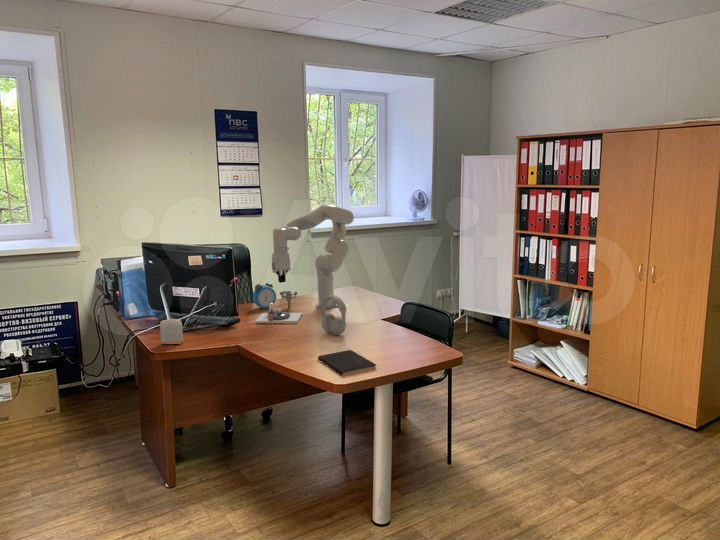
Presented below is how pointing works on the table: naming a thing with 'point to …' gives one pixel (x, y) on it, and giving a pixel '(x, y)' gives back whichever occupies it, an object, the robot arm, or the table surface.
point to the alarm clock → (264, 295)
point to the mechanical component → (288, 296)
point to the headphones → (329, 320)
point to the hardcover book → (347, 362)
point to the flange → (277, 313)
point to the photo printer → (171, 330)
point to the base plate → (292, 319)
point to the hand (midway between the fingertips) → (282, 282)
